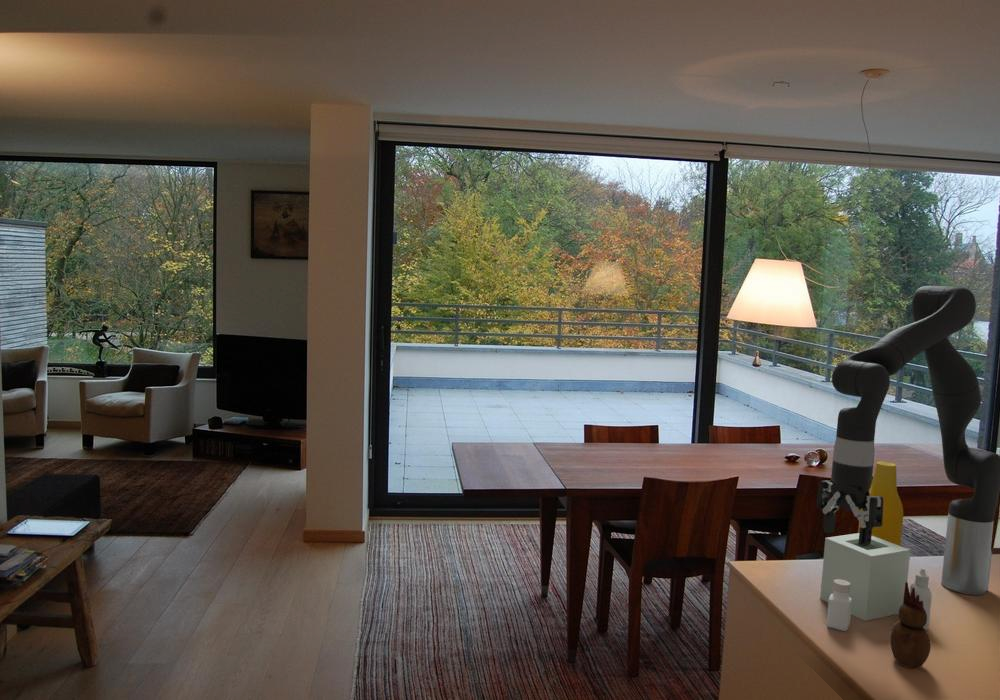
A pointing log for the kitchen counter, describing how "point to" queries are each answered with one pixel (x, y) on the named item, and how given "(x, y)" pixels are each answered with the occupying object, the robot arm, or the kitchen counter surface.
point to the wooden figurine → (910, 632)
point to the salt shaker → (839, 606)
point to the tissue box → (866, 574)
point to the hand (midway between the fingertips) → (845, 538)
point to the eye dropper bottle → (923, 592)
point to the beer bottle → (887, 503)
